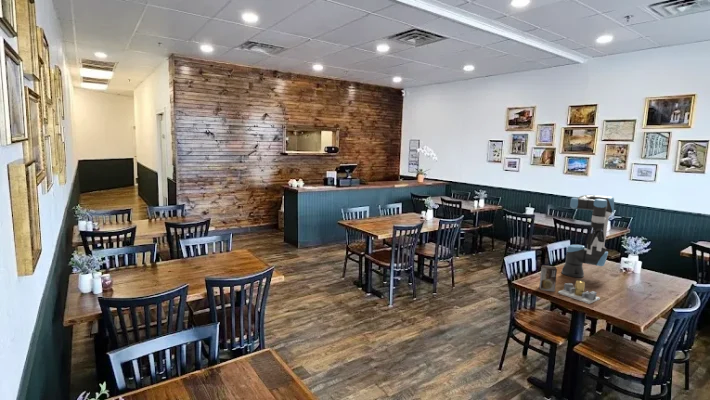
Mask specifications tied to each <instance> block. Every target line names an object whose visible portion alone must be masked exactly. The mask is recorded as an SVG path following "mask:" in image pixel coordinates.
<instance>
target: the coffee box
mask: <svg viewBox="0 0 710 400" xmlns="http://www.w3.org/2000/svg"><path fill="white" fill-rule="evenodd" d="M557 270H558V269H557V267H556V266H554V265H545V264H542V265H541V269H540V278H539V279H540V280H539V290H541V291H548V292H556V283H557V273H558V271H557Z"/></svg>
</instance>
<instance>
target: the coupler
mask: <svg viewBox="0 0 710 400" xmlns="http://www.w3.org/2000/svg"><path fill="white" fill-rule="evenodd" d="M574 287H575V293H574V294H575V295H578V296H582V293H584V292H585V287H586V282H585V281H584V280H580V279H579V280H578V279H577V280H575V286H574Z"/></svg>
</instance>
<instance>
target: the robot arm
mask: <svg viewBox="0 0 710 400" xmlns="http://www.w3.org/2000/svg"><path fill="white" fill-rule="evenodd" d="M569 206H570V208H571V209H576V210H577V209H578V210H585V211H586V210H587V211H592V215H591V222H590V227H591V228H592V229H590V230H589V234H588V236H587V240H586V241H585V243H586V245H587V246H586V247H587V248H586V247H585V245H582V244H570V245H568V246H567V247H566V251H565V252H566V254H565V255H566V256H565V262H564V265H563V267H562V269H561V274H562V275H565V276H567V277H571V278H578V279H579V278H584V276H585V271H584V267H583V265H584V264H585V265H586V264H587V265H591V266H597V267H604V266H605V264H606V262H607V257H608V255H609V251H607V248H606V246H605V243H606V238H607V230H608V225H609V217H610V216H611V215H612V213H614V212H615V198H614V197H612V196H608V195H597V194H583V195H580V196H579V197H571V198H570V203H569Z"/></svg>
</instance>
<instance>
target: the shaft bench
mask: <svg viewBox="0 0 710 400" xmlns="http://www.w3.org/2000/svg"><path fill="white" fill-rule="evenodd" d="M557 293H558V294H560V295H563V296H564V297H568V298H571V299H575V300H577V301H580V302H583V303H586V304H589V305H590V304H592V303H594V302H595V303H596V302H598V301H600V299H601V298H600V297H599V296H597V293H598V292H596V291H594V290H592V291H589V290H587V291H584V293H582V296H578V295H575V294H574V293H575V286H574V284H573V283H570V282H567V283H566V282H565V283H564V286H563V289H562V290H559V291H558V292H557Z"/></svg>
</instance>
